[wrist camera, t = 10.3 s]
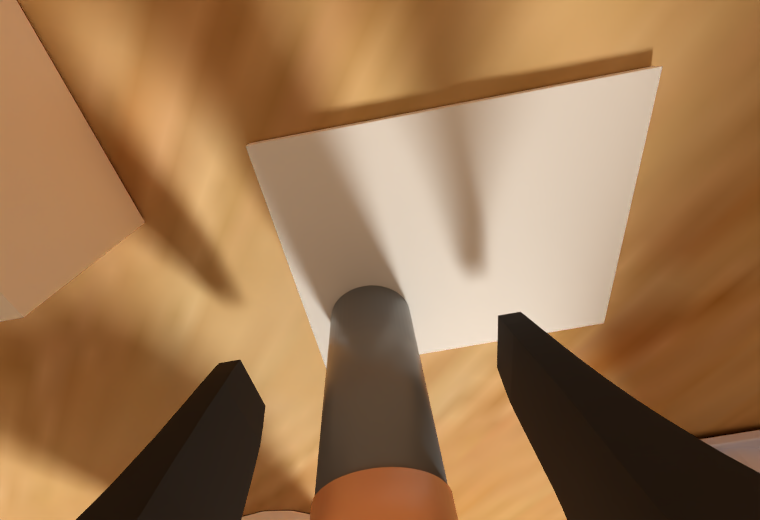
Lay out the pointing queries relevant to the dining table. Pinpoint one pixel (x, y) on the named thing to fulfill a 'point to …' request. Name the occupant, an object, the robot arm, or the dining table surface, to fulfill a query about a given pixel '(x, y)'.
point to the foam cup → (277, 516)
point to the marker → (377, 418)
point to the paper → (466, 207)
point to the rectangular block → (48, 177)
